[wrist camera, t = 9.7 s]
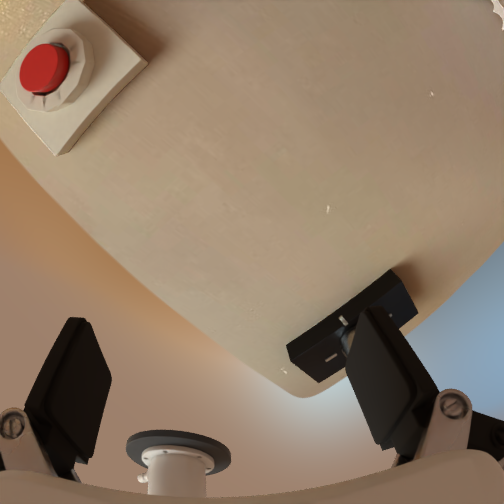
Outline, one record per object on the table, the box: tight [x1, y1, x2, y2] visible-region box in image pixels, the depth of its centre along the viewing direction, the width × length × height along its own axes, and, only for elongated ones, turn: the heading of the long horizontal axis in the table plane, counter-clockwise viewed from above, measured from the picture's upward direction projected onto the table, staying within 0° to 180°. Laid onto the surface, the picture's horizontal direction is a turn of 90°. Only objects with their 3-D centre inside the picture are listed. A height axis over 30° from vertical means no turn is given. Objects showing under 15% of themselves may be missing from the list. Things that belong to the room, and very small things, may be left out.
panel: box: [286, 269, 418, 383], centre depth 31 cm, size 14×9×3 cm, turn 130°
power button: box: [19, 44, 69, 92], centre depth 14 cm, size 4×4×2 cm
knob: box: [340, 325, 357, 361], centre depth 27 cm, size 4×4×5 cm
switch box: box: [0, 0, 148, 157], centre depth 16 cm, size 10×10×4 cm
